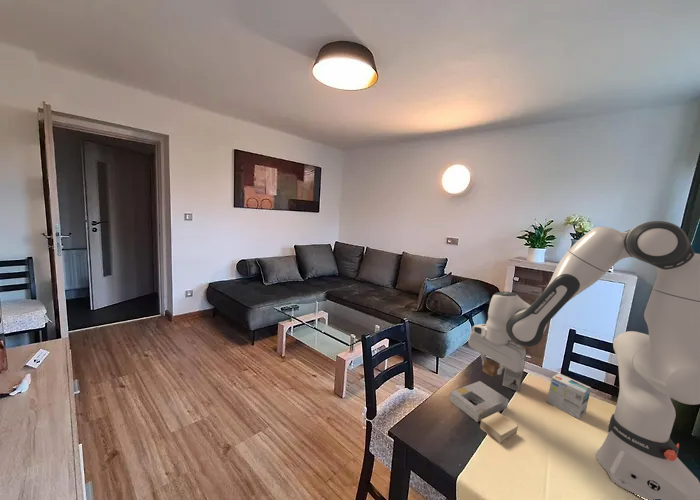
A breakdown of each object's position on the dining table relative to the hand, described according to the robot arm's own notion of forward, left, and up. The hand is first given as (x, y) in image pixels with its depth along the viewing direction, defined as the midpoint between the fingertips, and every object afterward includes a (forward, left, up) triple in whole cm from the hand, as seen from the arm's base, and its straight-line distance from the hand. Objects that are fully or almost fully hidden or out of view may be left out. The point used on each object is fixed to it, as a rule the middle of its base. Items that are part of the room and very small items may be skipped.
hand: (491, 369), depth 108 cm
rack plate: (0, +5, -13) cm, 14 cm away
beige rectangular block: (-12, +10, -13) cm, 20 cm away
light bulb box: (-16, -26, -13) cm, 33 cm away
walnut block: (0, 0, -1) cm, 1 cm away
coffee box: (+2, -21, -13) cm, 24 cm away
